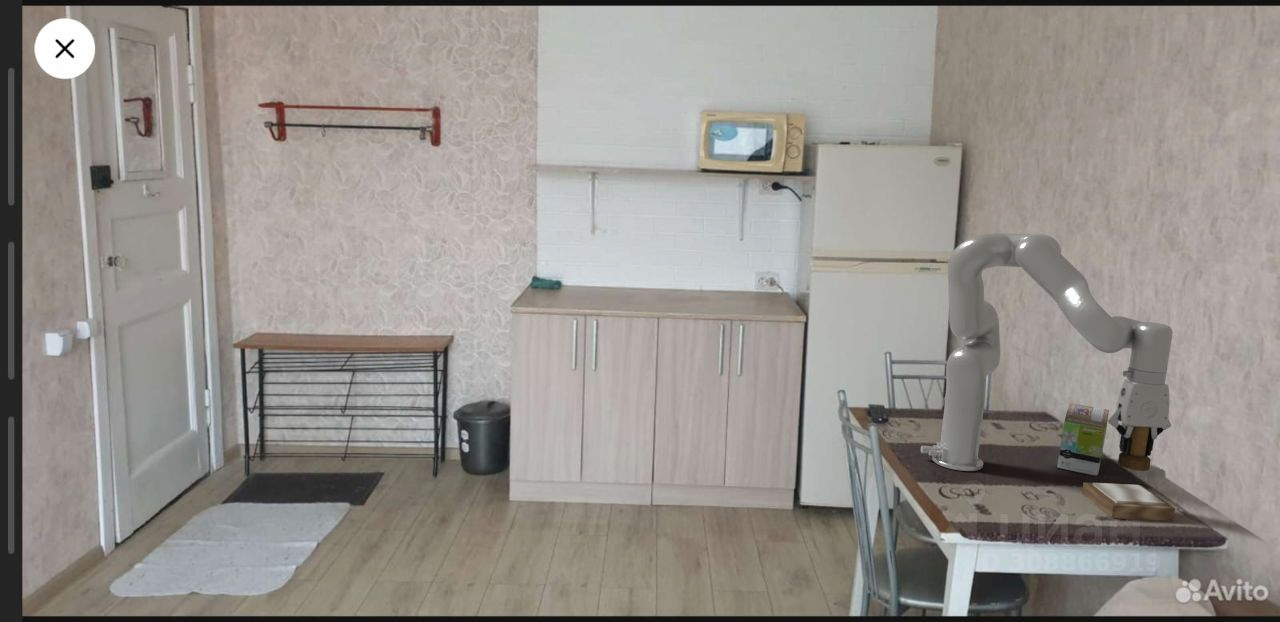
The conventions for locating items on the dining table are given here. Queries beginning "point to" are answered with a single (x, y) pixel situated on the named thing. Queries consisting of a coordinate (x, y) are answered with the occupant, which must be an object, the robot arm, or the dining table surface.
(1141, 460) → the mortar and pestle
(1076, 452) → the tea box
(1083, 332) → the robot arm
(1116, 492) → the plinth
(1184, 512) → the dining table surface
